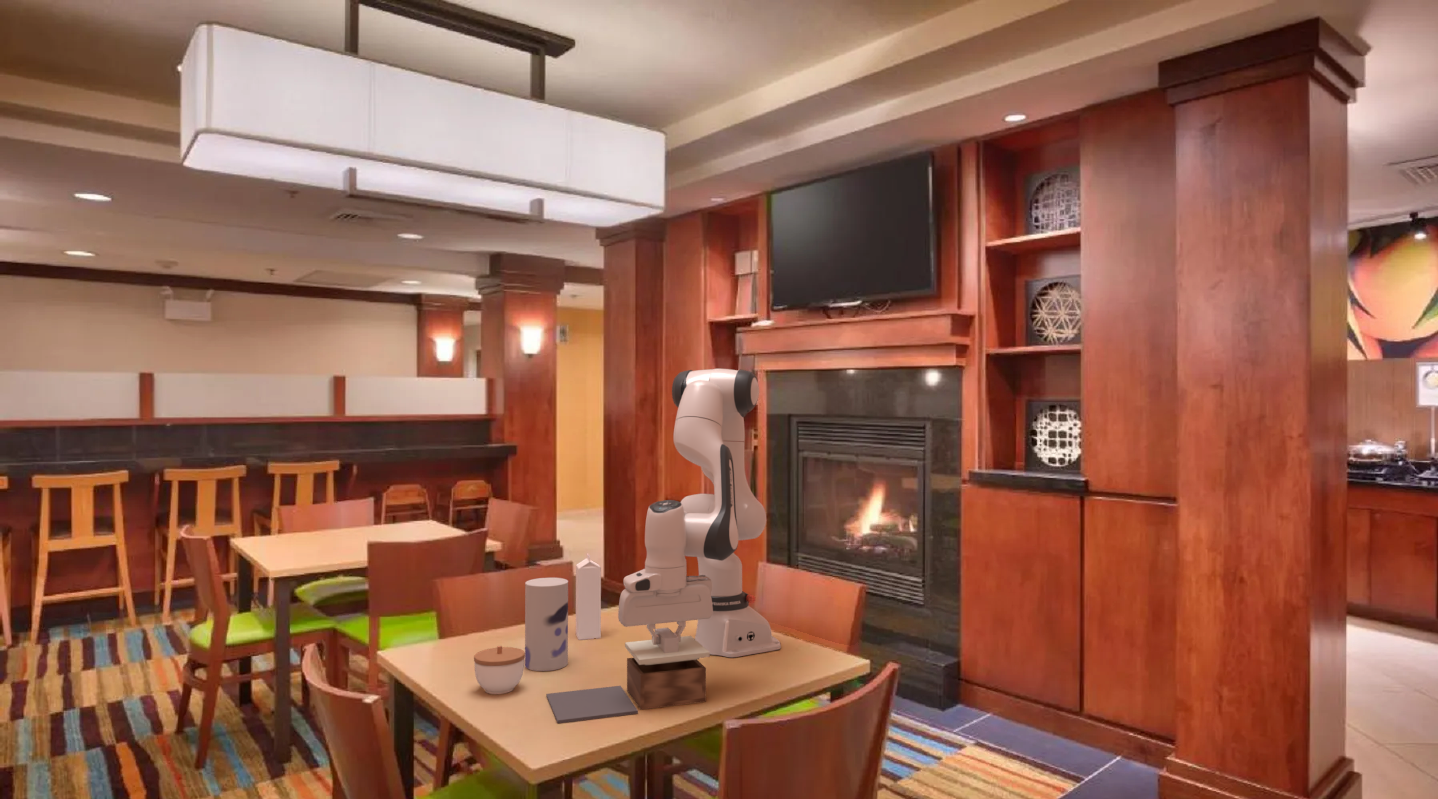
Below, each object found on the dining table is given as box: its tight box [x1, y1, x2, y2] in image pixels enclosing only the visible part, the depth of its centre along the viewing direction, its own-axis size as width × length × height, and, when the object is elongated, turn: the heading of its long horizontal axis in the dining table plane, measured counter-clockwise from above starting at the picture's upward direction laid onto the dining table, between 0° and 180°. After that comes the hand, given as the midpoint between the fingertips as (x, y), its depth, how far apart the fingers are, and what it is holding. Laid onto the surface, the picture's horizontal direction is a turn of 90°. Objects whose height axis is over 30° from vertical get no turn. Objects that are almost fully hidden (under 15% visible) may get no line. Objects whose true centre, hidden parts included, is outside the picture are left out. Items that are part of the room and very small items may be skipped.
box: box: [626, 657, 707, 710], centre depth 176 cm, size 14×12×7 cm
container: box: [524, 577, 569, 672], centre depth 198 cm, size 10×10×20 cm
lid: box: [624, 627, 711, 665], centre depth 177 cm, size 15×13×5 cm
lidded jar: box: [473, 645, 525, 695], centre depth 180 cm, size 11×11×9 cm
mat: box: [546, 685, 639, 724], centre depth 171 cm, size 16×16×1 cm
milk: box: [575, 552, 602, 641], centre depth 223 cm, size 6×6×22 cm
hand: (666, 642), depth 177 cm, fingers closed on lid, 3 cm apart
